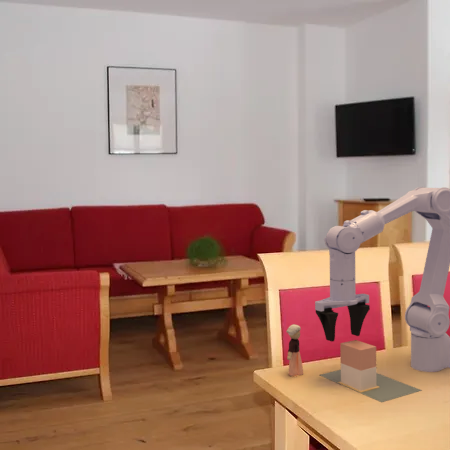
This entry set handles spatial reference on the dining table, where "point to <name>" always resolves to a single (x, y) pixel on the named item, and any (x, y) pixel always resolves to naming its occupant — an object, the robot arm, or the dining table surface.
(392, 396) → the baseplate
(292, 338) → the grandmother figurine
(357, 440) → the dining table surface
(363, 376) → the cream brick
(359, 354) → the terracotta brick
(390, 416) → the dining table surface
